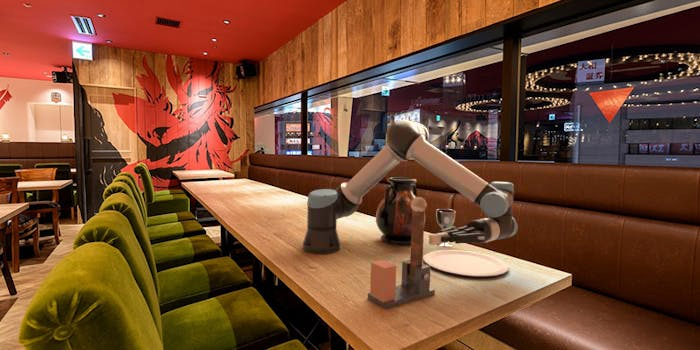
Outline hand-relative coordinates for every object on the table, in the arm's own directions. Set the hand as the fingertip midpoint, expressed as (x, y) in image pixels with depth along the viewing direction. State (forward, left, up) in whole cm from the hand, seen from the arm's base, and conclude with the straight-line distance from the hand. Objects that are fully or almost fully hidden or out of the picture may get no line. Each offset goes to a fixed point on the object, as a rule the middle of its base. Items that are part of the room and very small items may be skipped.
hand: (430, 239), depth 104 cm
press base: (-9, -6, -15) cm, 18 cm away
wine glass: (+16, +50, -15) cm, 55 cm away
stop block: (-14, -10, -13) cm, 22 cm away
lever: (-5, -3, -9) cm, 10 cm away
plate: (+17, +24, -15) cm, 33 cm away
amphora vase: (-3, +53, -15) cm, 55 cm away
